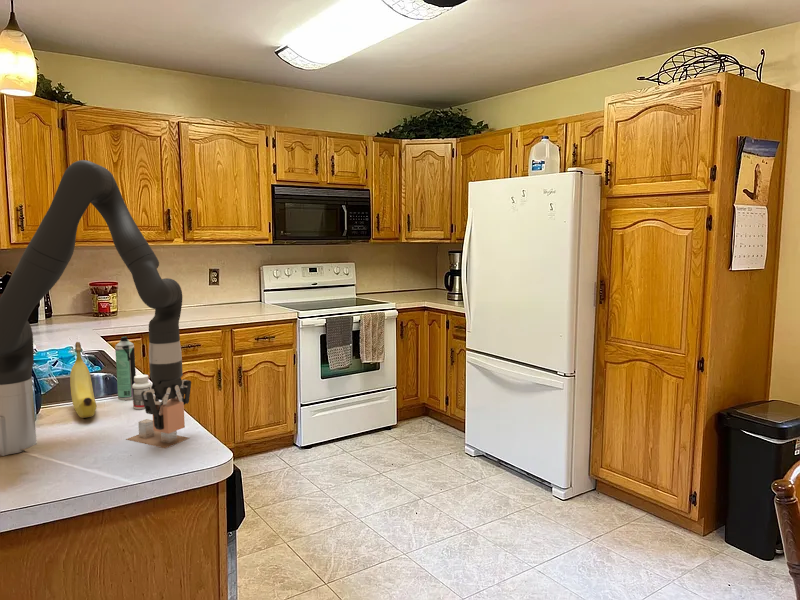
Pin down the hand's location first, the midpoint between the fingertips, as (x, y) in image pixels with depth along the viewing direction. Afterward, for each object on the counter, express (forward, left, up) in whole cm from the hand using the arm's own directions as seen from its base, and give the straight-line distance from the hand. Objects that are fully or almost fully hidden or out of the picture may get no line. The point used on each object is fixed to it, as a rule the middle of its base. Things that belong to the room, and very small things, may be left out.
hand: (169, 425), depth 146 cm
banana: (+7, +42, -5) cm, 43 cm away
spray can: (+24, +45, -5) cm, 51 cm away
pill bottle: (+19, +32, -5) cm, 38 cm away
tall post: (0, 0, -4) cm, 4 cm away
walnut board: (0, +4, -5) cm, 6 cm away
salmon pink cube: (0, 0, -1) cm, 1 cm away
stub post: (0, +8, -4) cm, 9 cm away
